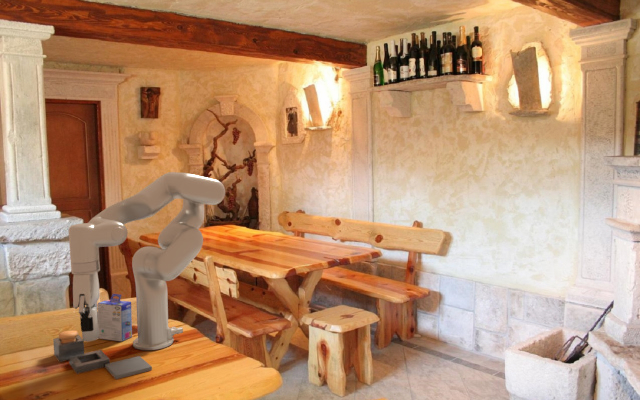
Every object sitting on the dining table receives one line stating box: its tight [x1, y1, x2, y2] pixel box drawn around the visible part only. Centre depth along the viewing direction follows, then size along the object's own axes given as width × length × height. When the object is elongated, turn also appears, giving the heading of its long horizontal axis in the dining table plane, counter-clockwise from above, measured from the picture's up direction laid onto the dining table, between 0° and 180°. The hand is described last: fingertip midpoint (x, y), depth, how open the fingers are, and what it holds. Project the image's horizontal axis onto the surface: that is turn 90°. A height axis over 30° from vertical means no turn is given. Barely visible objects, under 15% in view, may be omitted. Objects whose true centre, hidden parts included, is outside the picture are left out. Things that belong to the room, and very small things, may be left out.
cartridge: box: [81, 306, 99, 342], centre depth 156 cm, size 4×4×9 cm
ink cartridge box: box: [97, 293, 133, 342], centre depth 178 cm, size 10×6×14 cm, turn 72°
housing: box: [53, 334, 85, 363], centre depth 164 cm, size 7×7×5 cm
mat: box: [104, 355, 153, 380], centre depth 154 cm, size 10×10×1 cm
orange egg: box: [58, 330, 79, 343], centre depth 163 cm, size 5×5×6 cm
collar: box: [68, 349, 111, 375], centre depth 157 cm, size 9×9×2 cm
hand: (90, 327), depth 156 cm, fingers closed on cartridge, 4 cm apart
